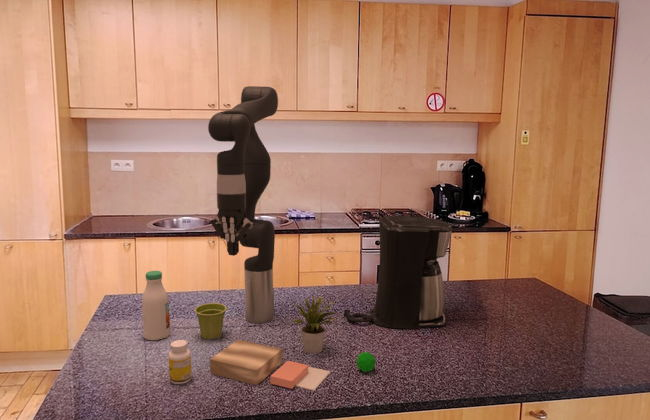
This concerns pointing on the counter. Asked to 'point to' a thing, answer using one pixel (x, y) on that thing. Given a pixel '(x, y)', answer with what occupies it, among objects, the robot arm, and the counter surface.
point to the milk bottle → (155, 308)
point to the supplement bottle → (180, 362)
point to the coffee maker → (409, 273)
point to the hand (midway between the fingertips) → (233, 254)
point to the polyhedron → (366, 362)
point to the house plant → (314, 325)
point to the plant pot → (211, 319)
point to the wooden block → (246, 362)
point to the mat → (312, 378)
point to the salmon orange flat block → (289, 374)
